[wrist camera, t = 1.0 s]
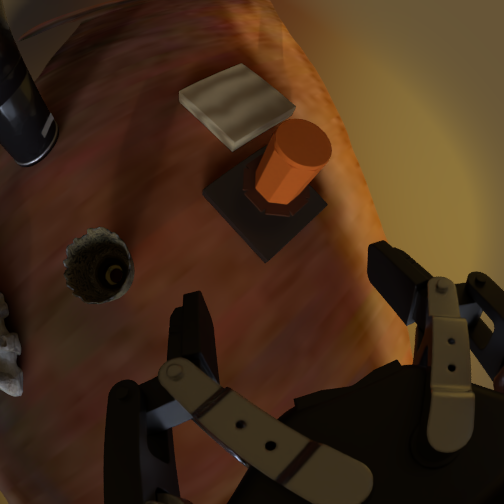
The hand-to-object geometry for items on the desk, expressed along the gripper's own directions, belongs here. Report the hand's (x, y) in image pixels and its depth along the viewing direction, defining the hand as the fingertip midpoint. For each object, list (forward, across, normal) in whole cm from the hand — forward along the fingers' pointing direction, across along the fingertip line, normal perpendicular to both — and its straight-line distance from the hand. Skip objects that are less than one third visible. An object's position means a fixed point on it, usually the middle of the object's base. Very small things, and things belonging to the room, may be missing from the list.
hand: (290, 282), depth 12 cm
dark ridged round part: (+18, +17, +7) cm, 26 cm away
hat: (+21, -4, +2) cm, 21 cm away
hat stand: (+25, -3, +5) cm, 25 cm away
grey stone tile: (+35, -3, -8) cm, 36 cm away
